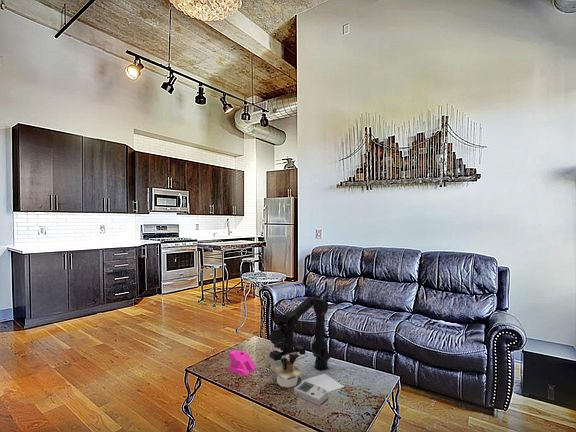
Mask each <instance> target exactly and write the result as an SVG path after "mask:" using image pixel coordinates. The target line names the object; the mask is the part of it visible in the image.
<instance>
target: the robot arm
mask: <svg viewBox="0 0 576 432" xmlns="http://www.w3.org/2000/svg"><path fill="white" fill-rule="evenodd" d="M312 307H313V308H312ZM311 308H312V309H313V311H314V313H315V340H313V341H314V342H312V343H311V350H310V351H311V353H312V355H313V357H315V360H314V363H315V364H314V368H315V369H317V370H318V371H320V372H323V371H325V370H329V369H330V367H328V363H329V360H330V359H331V354H330V353H329V352H328V347H327V346H328V345H327V343H326V342H325V327H326V326H325V325H326V324H325V323H326V321H325V319H326V317H325V316H326V314H327V312H328V311H329V309H328V308H329V302H328V301H327V300H326V299H321V298H318V297H317V298H315V297H312V296H308V297H306V299H305V300H304V301H302V302H301V303H300V304H299V305H298V306H297V307H295V308H294V309H292V310H290V311H287V312H285V313H283V314H282V315H281V318H280V320H279V322H278V323H277V326H276V329H275V328H274V329H272V332H270V334H269V340H270V343H272V344H273V346H274V347H273V348H274V349H277V350H272V352H270V358H272V359H273V360H274V361H278V360H281V362H282V365H283V368H284V370H286V365H287V360H288V358H289V360H288V361H289V362H291V363H292V364H293V365H294V363H295V362H296V360H297V359H298V357H299V355H305V354H306V348H305V347H303V346H302V345H300V344H298V345H295V344H296V341H294V337H295V336H294V335H295V332H294V331H296V330H297V329H298V328H297V327H296V325H297V324H298V322H299V319H300V317H302V316H303V315H304V314H305V313H306V312H308V310H310V309H311ZM294 345H295V346H294ZM279 349H280V350H279ZM278 351H282V352H278ZM298 353H299V355H298ZM287 355H288V356H289V357H288V358H287V357H286V356H287Z"/></svg>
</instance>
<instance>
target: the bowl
mask: <svg viewBox="0 0 576 432" xmlns="http://www.w3.org/2000/svg"><path fill="white" fill-rule="evenodd" d="M298 379H299V377H298V376H295V377H292V378H288V379H285V380H283V379H282V378H281V377H280V376H279V375H277V374H276V384H277V385H279V386H280V387H282V388H293V387H296V386H297V384H298V381H299V380H298Z"/></svg>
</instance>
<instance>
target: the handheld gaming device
mask: <svg viewBox="0 0 576 432" xmlns="http://www.w3.org/2000/svg"><path fill="white" fill-rule="evenodd" d="M303 380H304V381H303V382H302V381H301V382H300V383H299V384H298V385H296V386H294V388H293V394H294V396H296V397H298V398H301V399H303V400H306V401H307V402H309V403H312V404H315V405H316V406H321V404H322V403H325V401H326V400H327V399H328V397H329V392H327V391H326V390H325V389H323V388H321V387H319V386H317V385H315V384H312V383H310V382H307V381H305V379H303Z"/></svg>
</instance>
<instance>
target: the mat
mask: <svg viewBox="0 0 576 432" xmlns="http://www.w3.org/2000/svg"><path fill="white" fill-rule="evenodd" d="M304 380H305V381H307V382H310V383H312V384H315V385H317V386H319V387H321V388H323V389H325V390H326V391H327V392H328V393H329V392H333V391H335V390H339V389H341V388H344V387H345V386H344V385H343V384H341V383H340V382H338V381H336V380H335V379H334V378H332V377H330V376H329V375H327V374H326V373H322V374H319V375H315V376H312V377H311V376H310V377H309V378H304V379H301V380H300V382H301V383H302V382H303V381H304Z"/></svg>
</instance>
